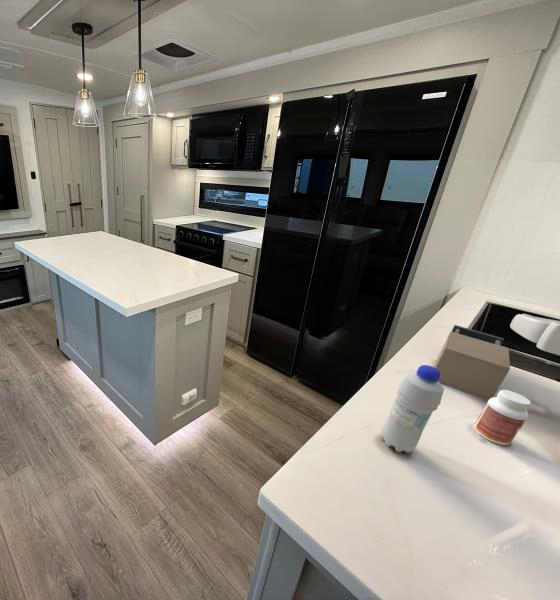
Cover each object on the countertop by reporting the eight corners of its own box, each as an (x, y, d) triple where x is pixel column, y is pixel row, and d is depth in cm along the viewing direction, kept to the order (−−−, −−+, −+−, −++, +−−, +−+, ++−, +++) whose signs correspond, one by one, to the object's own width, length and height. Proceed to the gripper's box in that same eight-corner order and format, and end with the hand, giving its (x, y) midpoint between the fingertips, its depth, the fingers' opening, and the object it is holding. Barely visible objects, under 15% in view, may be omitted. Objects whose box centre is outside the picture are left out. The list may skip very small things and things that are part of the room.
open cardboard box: (436, 359, 99) (450, 331, 95) (490, 378, 91) (508, 348, 87) (430, 378, 90) (445, 347, 85) (490, 401, 82) (510, 368, 77)
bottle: (370, 434, 69) (401, 360, 61) (391, 428, 71) (425, 356, 63) (399, 460, 63) (438, 381, 55) (422, 452, 65) (463, 375, 57)
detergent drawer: (444, 343, 108) (455, 320, 104) (490, 357, 100) (503, 333, 97) (438, 362, 96) (450, 338, 93) (489, 380, 89) (504, 354, 85)
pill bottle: (515, 450, 67) (542, 411, 63) (477, 438, 70) (501, 399, 65) (503, 431, 72) (528, 393, 68) (469, 420, 75) (490, 383, 70)
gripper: (683, 346, 59) (613, 319, 72) (547, 322, 65) (504, 300, 77) (660, 373, 62) (596, 342, 74) (531, 348, 67) (491, 323, 80)
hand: (548, 321), depth 76 cm, fingers open, 8 cm apart
